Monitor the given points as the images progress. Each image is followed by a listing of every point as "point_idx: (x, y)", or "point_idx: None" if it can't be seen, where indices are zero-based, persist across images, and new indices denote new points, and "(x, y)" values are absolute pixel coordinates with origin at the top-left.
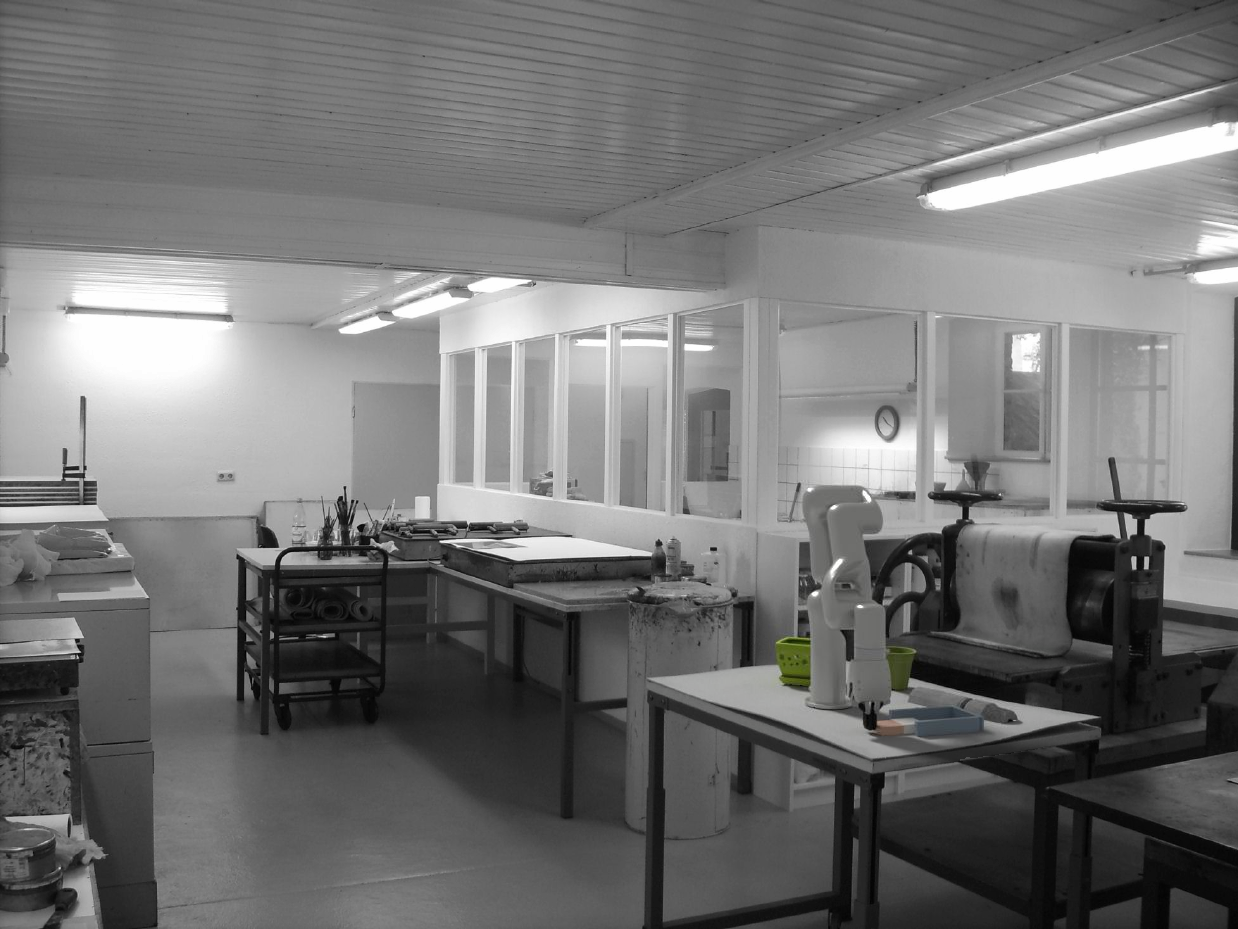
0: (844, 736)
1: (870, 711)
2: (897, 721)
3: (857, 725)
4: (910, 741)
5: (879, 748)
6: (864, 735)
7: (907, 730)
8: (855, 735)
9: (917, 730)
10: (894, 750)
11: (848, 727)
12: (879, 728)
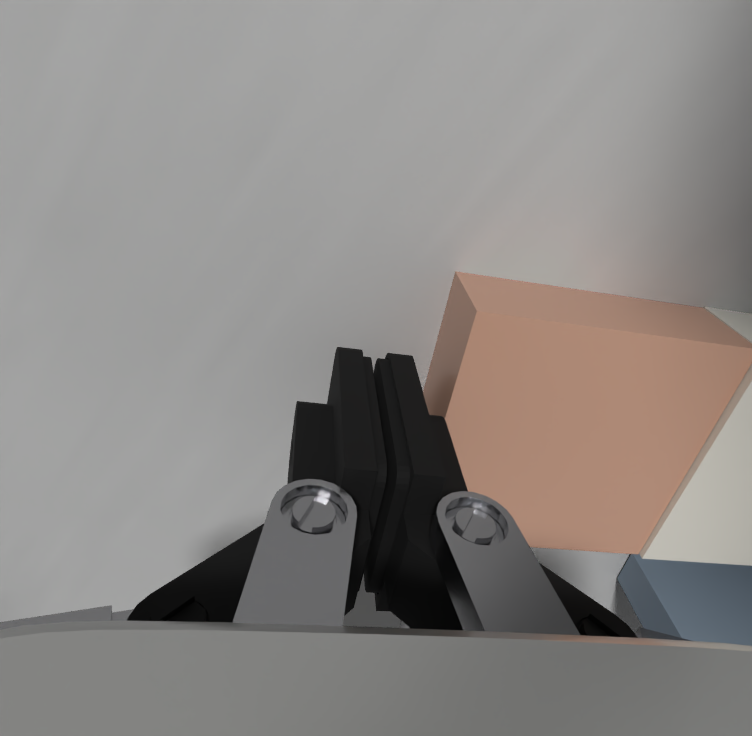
0: (26, 391)
1: (399, 552)
2: (719, 454)
3: (473, 13)
4: None
5: None
6: (254, 428)
7: None
8: (165, 400)
9: (641, 619)
10: None
11: (282, 57)
12: None
